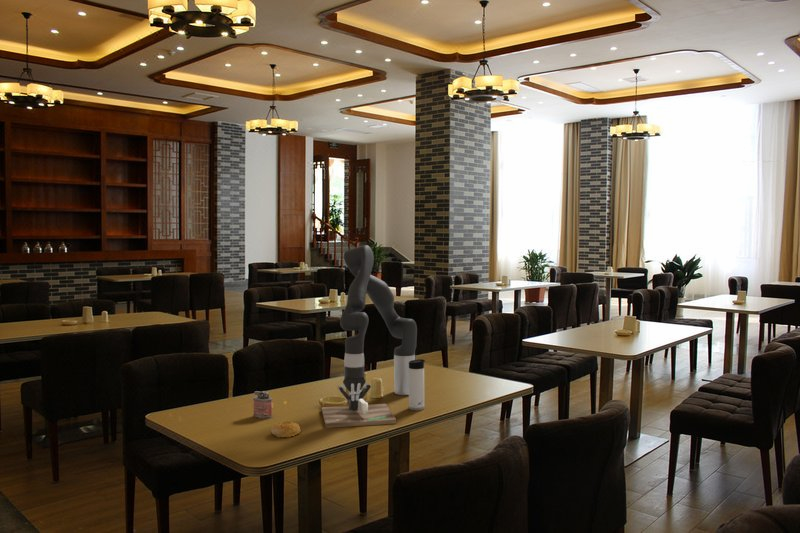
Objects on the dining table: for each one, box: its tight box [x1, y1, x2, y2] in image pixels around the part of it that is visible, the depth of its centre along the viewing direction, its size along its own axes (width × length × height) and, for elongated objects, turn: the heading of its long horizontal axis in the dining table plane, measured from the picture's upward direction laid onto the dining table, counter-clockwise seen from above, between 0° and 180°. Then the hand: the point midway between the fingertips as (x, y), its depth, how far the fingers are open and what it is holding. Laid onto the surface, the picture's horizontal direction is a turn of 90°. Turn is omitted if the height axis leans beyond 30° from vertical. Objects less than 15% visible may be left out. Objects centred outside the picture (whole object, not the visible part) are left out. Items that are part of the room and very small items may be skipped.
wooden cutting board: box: [321, 403, 397, 429], centre depth 252 cm, size 23×26×2 cm
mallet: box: [348, 389, 369, 415], centre depth 253 cm, size 18×5×8 cm, turn 18°
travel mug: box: [408, 358, 426, 411], centre depth 263 cm, size 6×7×20 cm
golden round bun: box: [270, 420, 302, 438], centre depth 232 cm, size 10×11×5 cm
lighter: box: [252, 390, 273, 420], centre depth 253 cm, size 8×3×10 cm, turn 71°
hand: (354, 410), depth 247 cm, fingers closed
